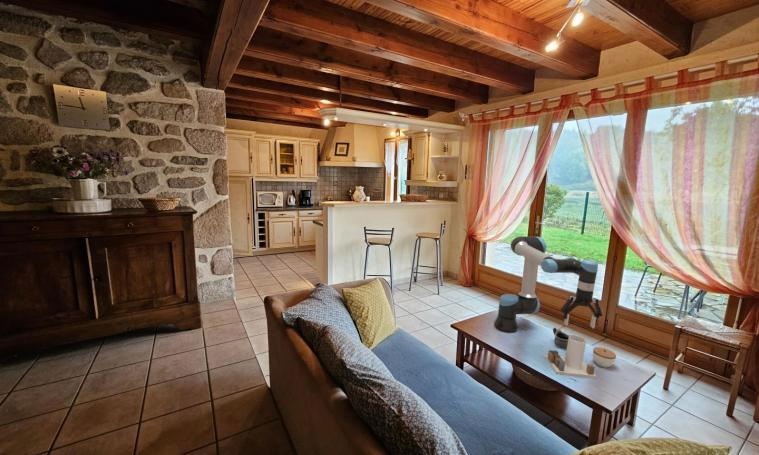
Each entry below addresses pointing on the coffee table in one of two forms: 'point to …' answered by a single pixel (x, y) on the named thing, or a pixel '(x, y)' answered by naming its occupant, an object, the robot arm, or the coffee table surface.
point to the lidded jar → (603, 357)
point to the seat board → (563, 369)
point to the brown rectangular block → (556, 358)
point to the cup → (575, 351)
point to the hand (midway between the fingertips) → (578, 325)
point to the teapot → (560, 338)
